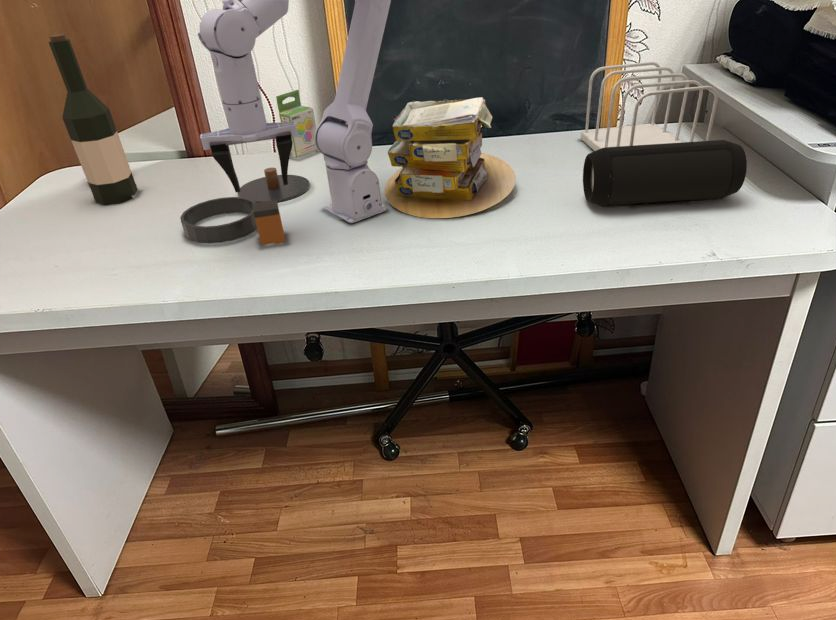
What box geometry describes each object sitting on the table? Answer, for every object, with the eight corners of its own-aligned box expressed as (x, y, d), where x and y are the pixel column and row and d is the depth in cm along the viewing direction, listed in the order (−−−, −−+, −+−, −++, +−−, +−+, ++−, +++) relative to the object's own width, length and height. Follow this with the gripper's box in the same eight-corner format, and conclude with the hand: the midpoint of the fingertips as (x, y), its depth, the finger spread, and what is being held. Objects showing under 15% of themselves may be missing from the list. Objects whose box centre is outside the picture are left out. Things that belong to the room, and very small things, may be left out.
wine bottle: (123, 205, 123) (61, 39, 106) (86, 204, 125) (20, 40, 107) (146, 189, 130) (92, 30, 112) (111, 188, 131) (52, 31, 114)
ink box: (298, 160, 139) (287, 98, 132) (286, 158, 142) (274, 96, 134) (321, 151, 144) (311, 90, 136) (309, 149, 146) (298, 88, 138)
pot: (274, 228, 110) (270, 210, 108) (204, 253, 104) (198, 234, 102) (241, 208, 119) (237, 191, 117) (174, 230, 112) (169, 212, 110)
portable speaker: (717, 186, 115) (729, 131, 109) (740, 207, 106) (755, 149, 101) (579, 195, 115) (584, 140, 109) (592, 217, 107) (598, 159, 101)
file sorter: (579, 139, 140) (586, 65, 131) (653, 132, 142) (664, 58, 133) (624, 178, 120) (635, 94, 111) (709, 169, 122) (726, 84, 113)
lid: (323, 191, 123) (320, 168, 121) (259, 213, 116) (253, 189, 114) (288, 174, 133) (284, 152, 130) (227, 193, 126) (221, 170, 123)
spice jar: (284, 234, 108) (276, 199, 104) (285, 244, 105) (278, 208, 101) (261, 238, 107) (252, 203, 104) (261, 248, 104) (253, 212, 100)
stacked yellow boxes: (480, 227, 106) (478, 128, 96) (360, 206, 116) (348, 114, 107) (534, 178, 123) (537, 89, 113) (425, 163, 133) (420, 80, 124)
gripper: (190, 112, 89) (215, 202, 97) (292, 99, 91) (308, 188, 99) (192, 101, 94) (216, 186, 102) (288, 88, 97) (304, 173, 105)
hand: (261, 186), depth 101 cm, fingers open, 7 cm apart
